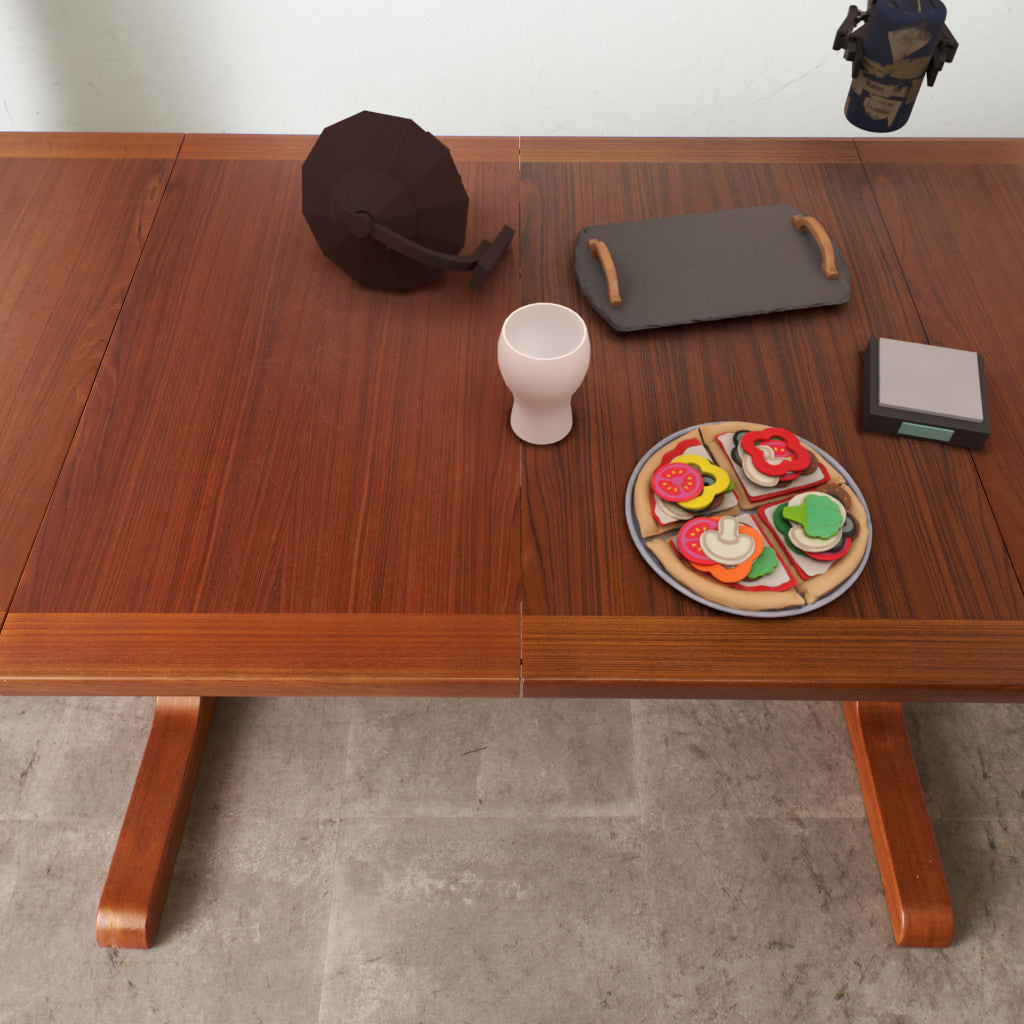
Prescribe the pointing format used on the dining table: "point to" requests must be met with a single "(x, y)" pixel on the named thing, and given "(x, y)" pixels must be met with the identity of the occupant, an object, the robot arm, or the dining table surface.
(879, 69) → the canister
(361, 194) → the dark brown piece
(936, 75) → the robot arm
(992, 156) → the dining table surface
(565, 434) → the cup
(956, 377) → the scale
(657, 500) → the toy pizza
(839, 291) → the serving tray
